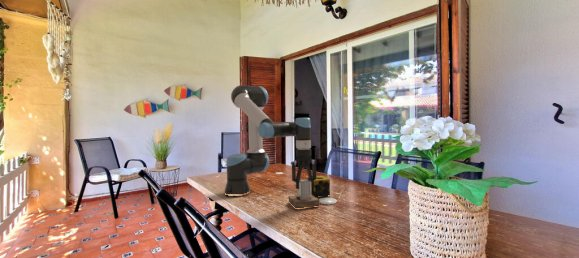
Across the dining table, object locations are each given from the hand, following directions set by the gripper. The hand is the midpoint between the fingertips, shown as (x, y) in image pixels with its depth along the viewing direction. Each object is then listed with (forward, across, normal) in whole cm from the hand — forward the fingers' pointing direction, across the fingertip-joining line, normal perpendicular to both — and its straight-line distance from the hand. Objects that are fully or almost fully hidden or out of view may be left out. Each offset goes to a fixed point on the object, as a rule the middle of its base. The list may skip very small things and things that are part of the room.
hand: (304, 194), depth 136 cm
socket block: (+5, -1, 0) cm, 5 cm away
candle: (+6, +13, +14) cm, 20 cm away
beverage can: (+5, 0, 0) cm, 5 cm away
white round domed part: (+5, +12, 0) cm, 13 cm away
